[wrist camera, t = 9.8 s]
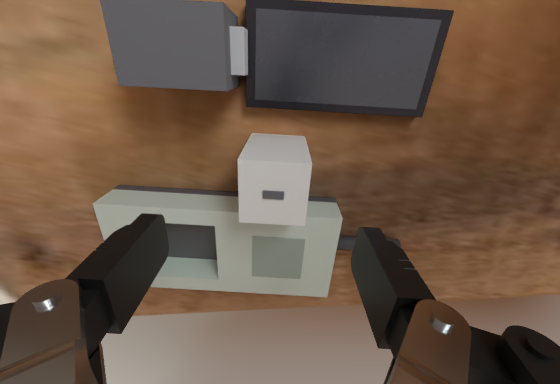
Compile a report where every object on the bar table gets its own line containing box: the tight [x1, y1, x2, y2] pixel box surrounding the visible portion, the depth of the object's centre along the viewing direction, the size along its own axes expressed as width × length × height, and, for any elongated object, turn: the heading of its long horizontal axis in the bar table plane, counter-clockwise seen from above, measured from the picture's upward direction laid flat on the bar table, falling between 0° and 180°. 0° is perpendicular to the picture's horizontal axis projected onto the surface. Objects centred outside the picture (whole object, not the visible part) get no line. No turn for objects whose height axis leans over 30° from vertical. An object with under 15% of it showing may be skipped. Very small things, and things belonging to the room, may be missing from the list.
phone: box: [246, 0, 454, 117], centre depth 16 cm, size 12×6×1 cm, turn 87°
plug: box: [100, 0, 248, 91], centre depth 15 cm, size 7×4×4 cm, turn 87°
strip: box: [93, 185, 401, 297], centre depth 21 cm, size 24×8×4 cm, turn 87°
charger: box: [237, 133, 312, 226], centre depth 17 cm, size 4×4×6 cm
